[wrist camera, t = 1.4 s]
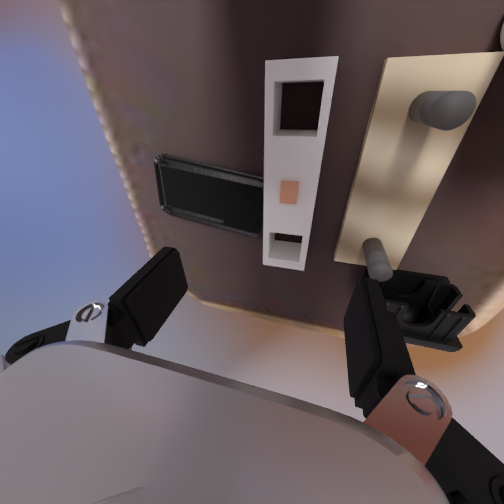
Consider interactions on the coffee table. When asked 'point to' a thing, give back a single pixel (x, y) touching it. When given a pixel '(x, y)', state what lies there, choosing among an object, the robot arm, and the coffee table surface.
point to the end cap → (426, 309)
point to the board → (408, 152)
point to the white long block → (292, 160)
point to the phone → (211, 194)
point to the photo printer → (502, 37)
